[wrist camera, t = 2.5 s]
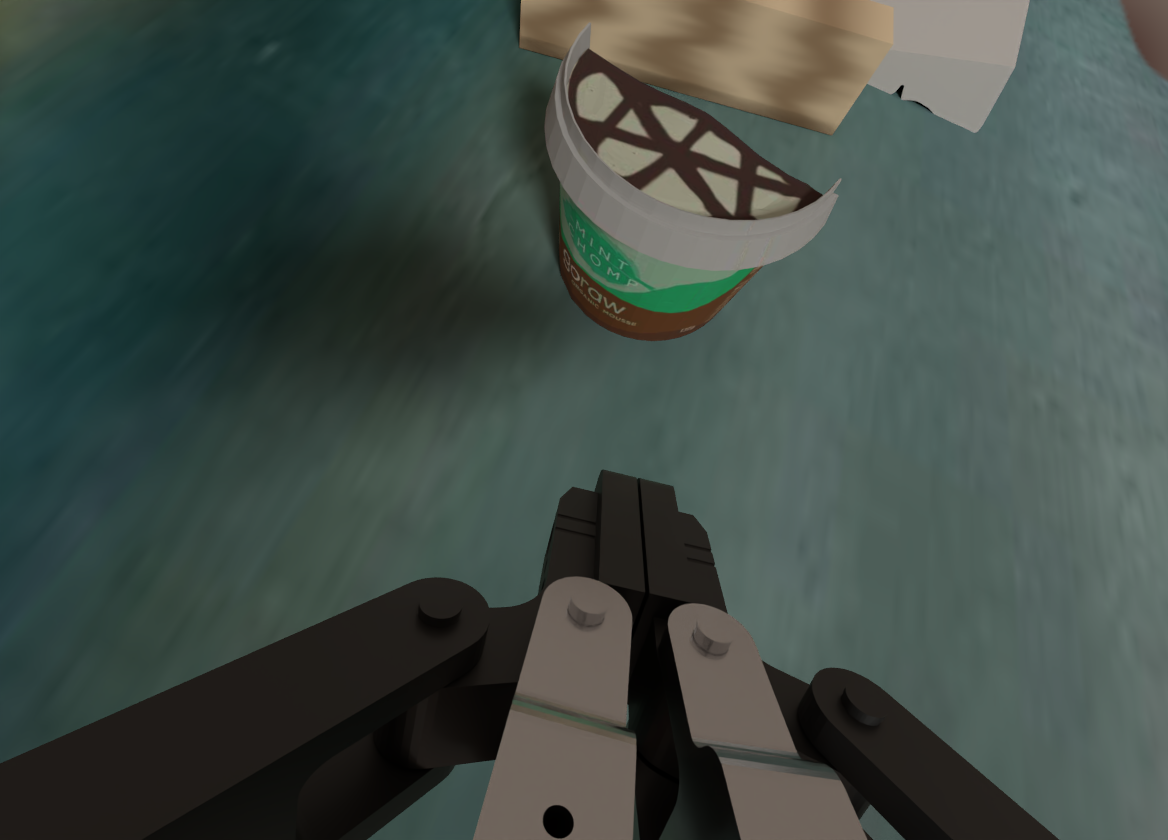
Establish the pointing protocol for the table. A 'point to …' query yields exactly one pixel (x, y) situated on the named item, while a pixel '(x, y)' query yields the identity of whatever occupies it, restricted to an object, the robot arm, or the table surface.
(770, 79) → the light wooden block
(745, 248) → the food container
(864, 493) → the table surface
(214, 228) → the table surface
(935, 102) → the grey long flat block
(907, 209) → the table surface
